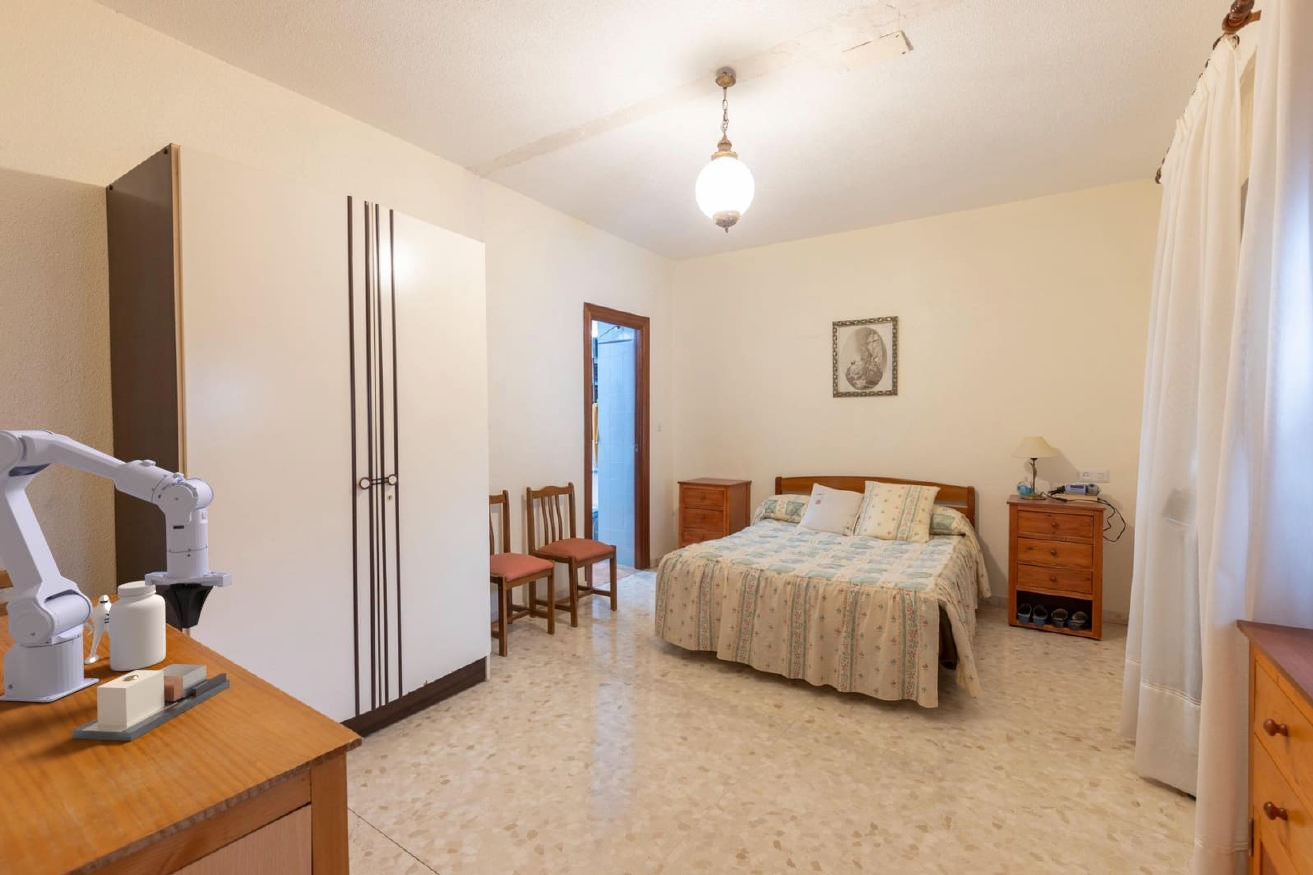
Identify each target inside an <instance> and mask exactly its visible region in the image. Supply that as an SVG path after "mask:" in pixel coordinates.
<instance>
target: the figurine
mask: <svg viewBox="0 0 1313 875" xmlns="http://www.w3.org/2000/svg"><path fill="white" fill-rule="evenodd" d="M112 604H113V603H111V601H110V597H109V596H108V595H107V594H104V595H101V596H100V597H99V599H98V602H97V605H95V606H93V611H92V615H91V617H90V618H89V619H90V620H91V623H89V622H88V621H87V622H85V623H84V628H86V627H87V628H89V629H90V631H89V632H88V633H87V634H85V636H86V637H88V636H90V635H92V633H93V637H92V644H91V650H90V653H89V655H88V656H87V657H86V659H84V661H83V665H91V664H93V663H95V662H97V661H99V660H100V656H99V655H97V654H96V652H97V650H98V649H97V648H98V647H99V644H100V641H101V638H102V636H103V633H104V632H105V633H106V634H107V635H108V637H109V609H110V606H111V605H112Z"/></svg>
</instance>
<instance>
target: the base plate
mask: <svg viewBox="0 0 1313 875" xmlns="http://www.w3.org/2000/svg"><path fill="white" fill-rule="evenodd" d="M206 680H207V681H205V682H203V683H201V684H200V685H198V686H196V687H194V688H192V689H191V693H192V694H190V695H188V696H187V697H185V698H180V699H178V700H176V701H164V707H162V708H160V709H158V710H156V711H154V712H152V713H150V714H149V715H147V716H145V717H143V718H141V719H139V720H137V721H135V722H133V723H131V724H130V725H128V726H116V725H98V717H97V718H95V719H93V720H91V721H89V722H87V723H85V724H83V725H80V726H78V727H76V728H74V729H72V739H76V740H97V741H100V740H101V741H116V742H117V741H118V742H119V741H120V742H121V741H122V742H132V741H134V740H136V739H138V738H139V737H142V736H143V735H145V734H147V733H148V732H150V731H152V730H154V729H156V728H157V727H159V726H161V725H163V724H165V723H166V722H169V721H170V720H172V719H173V718H174V719H175V718H176V717H178V716H179V715H181V714H183V713H184V711H185V712H186V710H187V711H188V710H190V709H192V708H194V707H196V706H197V705H200V704H201V703H202V701H203V702H204V700H205V701H206V700H209V699H210V698H212V697H214V696H215V695H217V694H219V693H221V692H223V691H225V690H226V689H228V688H230V686H231V685H230V684H231V680H230V679H227V672H221V673H219V674H218V675H215V676H213V677H211V678H206ZM220 691H221V692H220ZM195 705H196V706H195ZM178 714H179V715H178ZM177 715H178V716H177ZM175 716H176V717H175Z"/></svg>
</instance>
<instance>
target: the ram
mask: <svg viewBox="0 0 1313 875" xmlns="http://www.w3.org/2000/svg"><path fill="white" fill-rule="evenodd" d="M157 671H164V701H176V700H178V699H180V698H185V697H187V696H188V695H190V694H192V693H191V689H192V688H194V687H196V686H198V685H200V684H201V683H203V682H205V681H207V680H206V679H207V664H189V663H188V664H187V663H185V664H184V663H182V664H181V663H172V664H170V665H167V666H165V667H163V668H160V669H158V670H157Z"/></svg>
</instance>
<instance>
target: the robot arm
mask: <svg viewBox="0 0 1313 875" xmlns="http://www.w3.org/2000/svg"><path fill="white" fill-rule="evenodd" d="M53 464H62V465H66V466H69V467H71V468H75V469H77V470H80V471H83V472H87V473H90V474H93V475H96V476H99V477H102V478H105V479H109V480H112V481H113V484H114V487H115V489H117V491H119V492H122V493H125V494H128V495H130V496H133V497H135V498H137V499H140V500H143V501H146V502H148V503H151V504H154V505H156V506H158V508H159V509H160V510H161V512H163V513H164V516H165V531H166V571H154V572H150V573H147V574H144V581H145V586H152V585H155V586H170V587H168V589H165V590H163V591H162V595H163V597H164V598H166V600H167V601H168V602H169V604H170V605H171V607H172V609H173V610H174V612H175V614H176V617H177V620H178V622H179V625H180V629H191V628H193V627H196V626H198V625H199V622H200V617H201V614H202V611H203V608H204V604H205V603H206V601H207V598H208V597H209V595H210V593H211V592H212V590H213V589H214V587H218V588H224V587H227V586H231V585H232V584H233V583H232V582H233V580H232V579H233V578H232V577H233V576H232V575H233V574H232V573H227V572H221V571H215V570H214V571H213V570H210V563H209V520H208V519H209V518H208V516H209V514H208V507H209V506H210V505H211V503H212V502H213V499H214V494H215V493H214V489H213V487H212V486H211V485H210V484H209V483H208V482H207V481H205V480H203V479H202V478H200V477H190V478H185V477H184V476H185V474H184V473H181V472H179V471H178V472H172V471H169V470H166V469H164V468H161V467H158V466H156V461H154V460H150V459H145V460H140V459H137V460H136V459H135V460H133V461H129V462H126V461H123V460H120V459H118V458H116V457H114V456H111V455H109V454H107V453H104V452H101V451H100V450H97V449H96V448H93V447H90V446H89V445H86V444H83V443H81V442H78V441H76V440H74V439H72V438H71V437H69V436H67V435H63V434H60V433H55V432H53V431H51V430H48V429H43V428H42V429H41V428H40V429H38V428H37V429H32V430H31V429H30V430H29V429H27V430H23V429H22V430H6V429H0V559H1V561H2V563H3V565H4V568H5V570H6V572H7V574H8V577H9V579H10V581H11V583H12V585H13V588H14V593H13V594H12V596H11V598H10V599H9V600H8V602H7V604H6V606H5V609H6V611H7V615H8V623H7V631H8V634H9V636H10V638H11V639H12V640H13V641H14V642H15V643H14V644H12V645H11V646H10V647H9V649H8V650H7V651H6V653H5V655H4V658H3V661H2V662H3V663H2V664H3V688H4V689H3V692H4V694H3V695H1V696H0V701H8V702H11V701H12V702H31V703H32V702H34V703H37V702H39V703H50V702H54V701H56V700H58V699H62V698H63V697H65V696H68V695H70V694H73V693H75V692H77V691H80V690H83V689H85V688H87V687H90V686H92V685H93V684H96V683H99V680H100V679H99V678H94V677H93V678H92V677H91V678H89V677H85V674H84V671H85V669H84V665H85V664H84V639H83V638H84V636H83V632H84V631H85V626H84V623H85V622H88V621H89V619H90V617H91V615H92V611H93V607H94V606H93V603H92V601H91V599H90V598H89V597H88V596H86V595H85V594H84V593H82V591H81V590H80V589H79V587H78V584H77V583H76V582H75V581H73V580H71V579H69V578H66V577H64V576H62V575H61V573H60V571H59V569H58V565H57V564H56V560H55V559H54V557H53V554H52V552H51V550H50V546H49V545H48V543H47V540H46V538H45V535H44V533H43V531H42V529H41V527H40V524H39V522H38V520H37V517H36V516H35V513H34V511H33V507H32V506H31V503H30V501H29V499H28V496H27V494H26V490H25V489H26V488H27V487H28V485H29V484H30V483H31V482H32V480H33V479H34V478H35V477H36V476H38V475H39V474H40V473H42V472H43V471H45V470H46V469H47V468H49V467H51V465H53Z"/></svg>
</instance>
